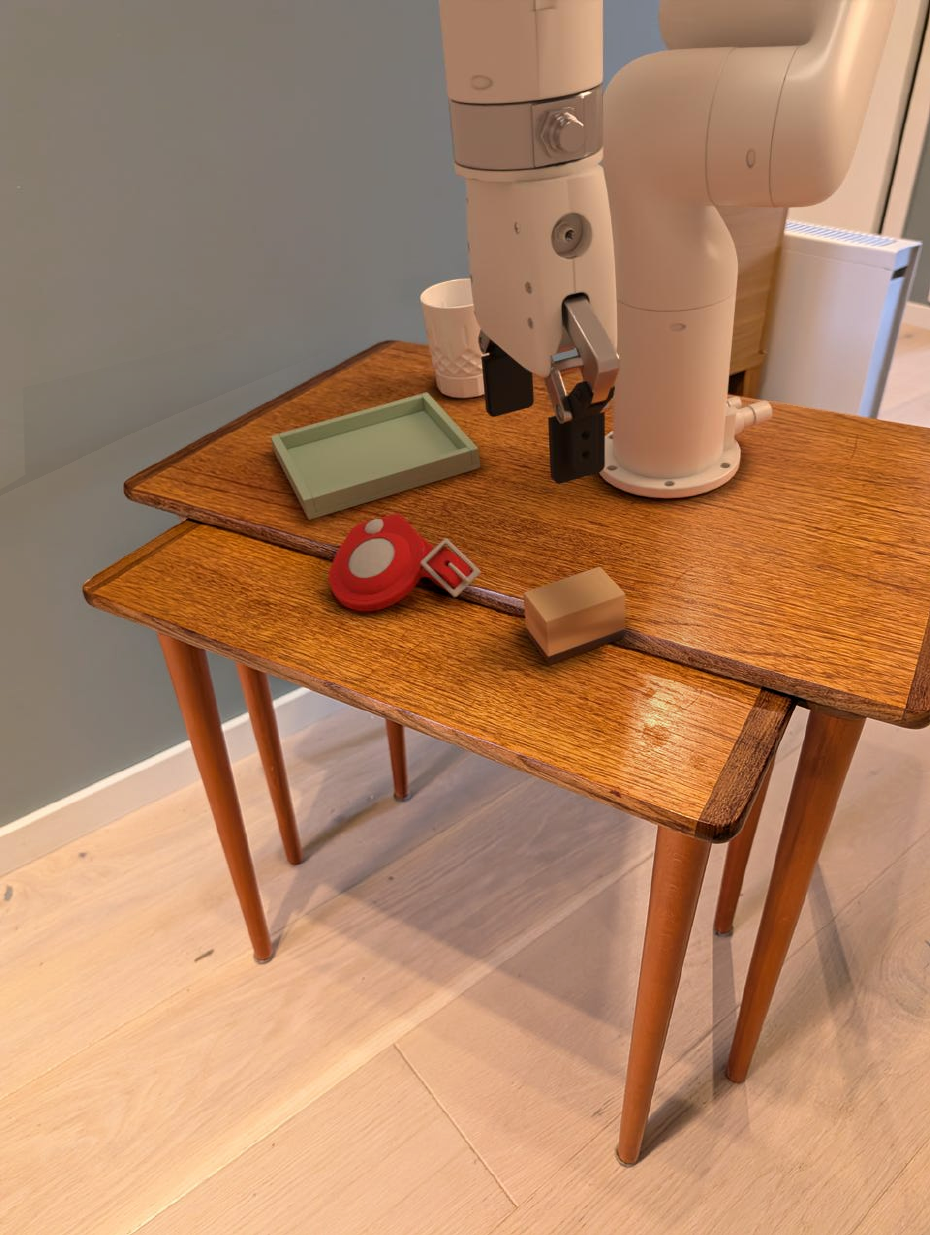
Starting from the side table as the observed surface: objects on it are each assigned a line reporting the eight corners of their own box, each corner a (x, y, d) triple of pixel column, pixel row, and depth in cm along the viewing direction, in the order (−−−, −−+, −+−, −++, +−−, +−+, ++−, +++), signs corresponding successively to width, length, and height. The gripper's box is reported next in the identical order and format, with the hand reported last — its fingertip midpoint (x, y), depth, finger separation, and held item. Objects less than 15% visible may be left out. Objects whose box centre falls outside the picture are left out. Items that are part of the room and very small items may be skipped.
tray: (430, 410, 93) (427, 391, 92) (480, 468, 83) (478, 448, 82) (275, 454, 89) (270, 435, 88) (308, 520, 79) (303, 500, 78)
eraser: (600, 609, 66) (599, 565, 63) (625, 637, 63) (625, 593, 61) (526, 635, 64) (522, 592, 62) (548, 665, 62) (545, 621, 59)
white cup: (480, 406, 92) (470, 311, 86) (418, 394, 96) (404, 302, 90) (518, 375, 97) (512, 282, 91) (458, 364, 101) (447, 275, 95)
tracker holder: (320, 613, 67) (323, 515, 73) (345, 644, 70) (346, 548, 76) (473, 571, 64) (463, 473, 70) (492, 605, 68) (481, 509, 74)
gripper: (687, 147, 39) (669, 488, 50) (524, 97, 52) (538, 376, 63) (530, 179, 37) (546, 525, 48) (402, 120, 50) (437, 403, 61)
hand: (541, 441), depth 55 cm, fingers open, 9 cm apart
